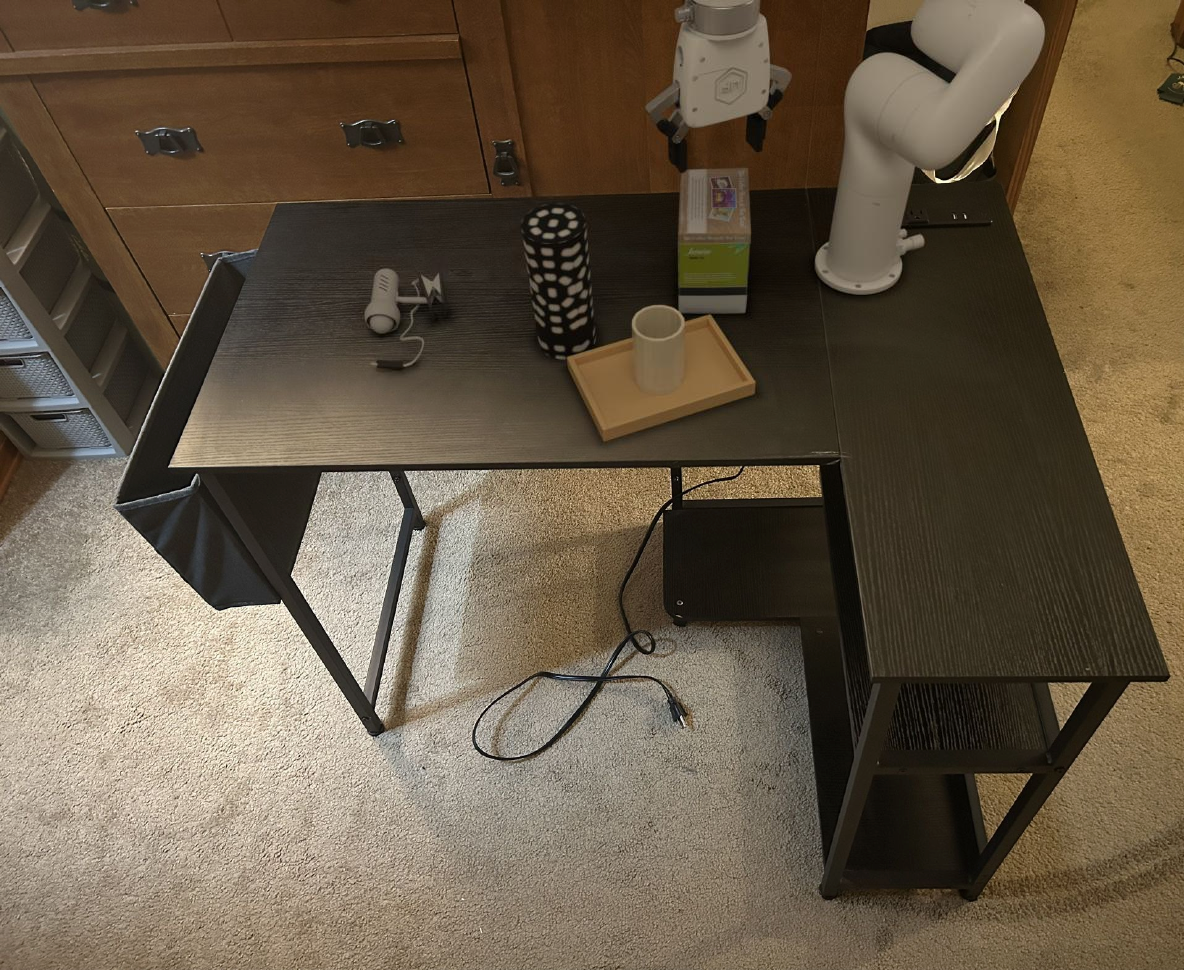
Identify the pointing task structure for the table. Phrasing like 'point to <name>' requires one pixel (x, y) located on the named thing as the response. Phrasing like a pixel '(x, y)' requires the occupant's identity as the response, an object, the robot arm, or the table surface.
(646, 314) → the cup
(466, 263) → the table surface
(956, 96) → the robot arm
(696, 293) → the tea box
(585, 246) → the spotted tube
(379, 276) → the clip-on lamp
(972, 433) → the table surface
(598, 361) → the tray
